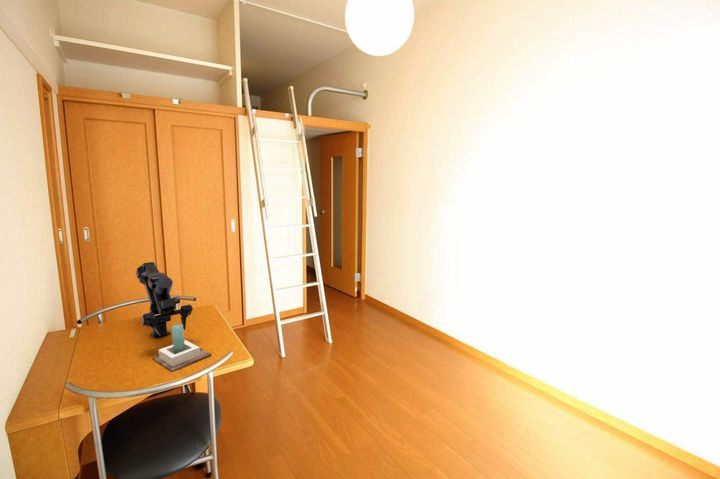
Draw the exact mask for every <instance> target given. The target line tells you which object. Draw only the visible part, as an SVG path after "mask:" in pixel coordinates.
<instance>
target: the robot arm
mask: <svg viewBox="0 0 720 479" xmlns="http://www.w3.org/2000/svg"><path fill="white" fill-rule="evenodd" d="M135 275H136V278H137V279H138V281H139V283H140V284H142V285H144V287H145V290H146V294H147V296H148V300H149V303H150V306H149V312H148V313H143V315H142V316H141V317H142V318H141V325H142V326H146V327H147V328H148V327H149V328H151V329H152V332H151V333H149V334H150V335H149V336H151V337H153V338H155V339H159V338H163V337H165V336H168V335H172V334H171V333H172V332H171V331H168V327H167V324H168V323H167V322H171V321H172V316H177V315H179V316H180V320H181V321H180V322H181V324H182V325H183V331H185V330H186V327H187V318H188V317H189V316H191V314H192V311H193V309H194V308H193V306H192V305H191V304H186V305H185V304H184V305H181V306H180V308H179V309H176V307H177V305H178V304H180V303H181V298H180V295H175V296H173V298H172V297H171V294H170V293H171V291H172V287H173V283H174V282H173V279H171V277H169V276H167V274H166V273H165V272H160V271H159V269H158V268H157V265H156V263H155V262H154V261H150V262H149V261H148V262H144V263H142V264H141V265H140V266H139V267H137V268H136V271H135ZM175 309H176V310H175Z"/></svg>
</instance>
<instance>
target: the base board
mask: <svg viewBox="0 0 720 479" xmlns="http://www.w3.org/2000/svg"><path fill="white" fill-rule="evenodd" d="M210 357H212V353H210V352H208V351H206V350H205V349H203V348H201V347H200V356H198V357H195V358H193V359H190V360H188V361H185V362H183V363H180V364H178V365H175V366H171V365H169V364H168V363H166V362H165V361H163V360H162V359H160V358H159V354H158V355H155V356H153V357H151V358H152V360H153V361H154V362H156V363H157V364H159V365H160V366H162V367H163V368H165V369H167V370H168V371H169V372H171V373H173V372H176V371H179V370H182V369H183V368H186V367H189V366H190V365H194V364H195V363H198V362H201V361H202V360H205V359H207V358H210Z"/></svg>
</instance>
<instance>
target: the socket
mask: <svg viewBox="0 0 720 479" xmlns="http://www.w3.org/2000/svg"><path fill="white" fill-rule="evenodd" d="M184 346H185V351H183V352H180V353H177V354H174V349H173V344H171V345H168V346H165V347H163V348H160V349H158V350H157V351H158V355H159V358H160V359H162V360H163V361H165V362H166V363H168V364H169V365H171V366H175V365H178V364H180V363H183V362H185V361H188V360H190V359H193V358H195V357H198V356H200V348H201V347H199V346H197V345H196V344H194V343H192V342H190V341H188V340H186V339H184Z"/></svg>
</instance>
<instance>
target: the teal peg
mask: <svg viewBox="0 0 720 479" xmlns="http://www.w3.org/2000/svg"><path fill="white" fill-rule="evenodd" d="M171 333H172V334H171V336H172V345H173V349H174V354H177V353H180V352H183V351H185V346H184V341H185V335H184V333H185V331H184V329H183V325H182V323H181V324H180V323H179V324H178V323H177V324H174V325H172V326H171Z"/></svg>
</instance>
